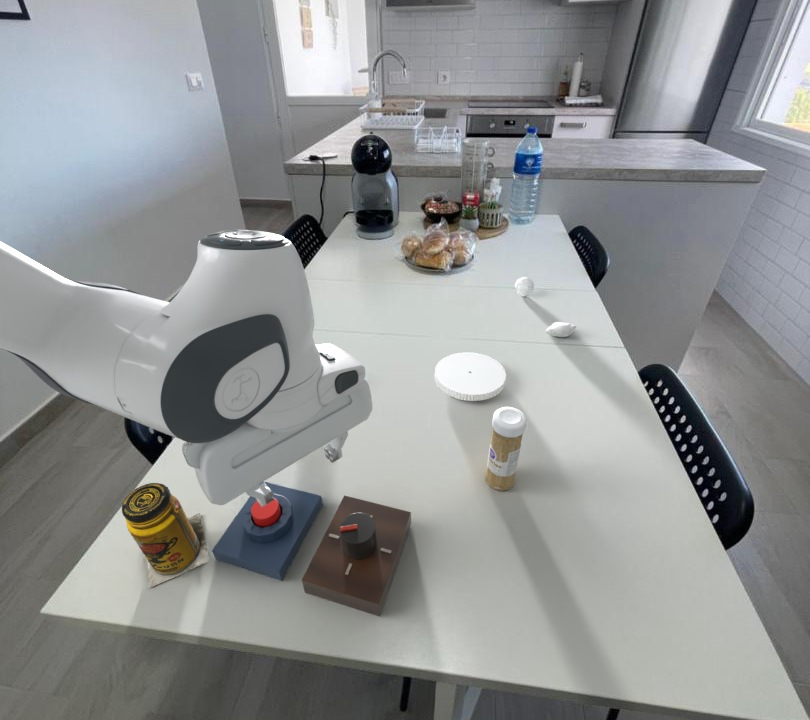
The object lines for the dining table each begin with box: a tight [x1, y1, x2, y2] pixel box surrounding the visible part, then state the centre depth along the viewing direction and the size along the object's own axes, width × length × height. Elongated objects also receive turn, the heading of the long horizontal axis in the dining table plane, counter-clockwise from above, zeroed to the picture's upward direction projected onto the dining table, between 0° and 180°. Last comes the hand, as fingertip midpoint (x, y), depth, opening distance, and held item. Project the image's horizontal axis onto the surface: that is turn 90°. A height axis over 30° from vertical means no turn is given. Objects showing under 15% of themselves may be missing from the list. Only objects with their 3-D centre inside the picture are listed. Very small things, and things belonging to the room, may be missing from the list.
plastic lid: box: [434, 351, 507, 402], centre depth 89 cm, size 14×14×2 cm
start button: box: [251, 498, 281, 527], centre depth 60 cm, size 4×4×2 cm
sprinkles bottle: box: [484, 406, 527, 491], centre depth 66 cm, size 5×5×14 cm
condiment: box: [121, 482, 210, 588], centre depth 57 cm, size 7×8×12 cm
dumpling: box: [545, 321, 578, 338], centre depth 102 cm, size 7×5×4 cm
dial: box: [340, 513, 377, 559], centre depth 57 cm, size 4×4×4 cm
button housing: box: [211, 480, 324, 582], centre depth 62 cm, size 12×10×4 cm
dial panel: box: [301, 494, 412, 617], centre depth 59 cm, size 13×10×3 cm
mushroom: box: [514, 276, 535, 298], centre depth 118 cm, size 5×5×5 cm
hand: (301, 477), depth 53 cm, fingers open, 8 cm apart
